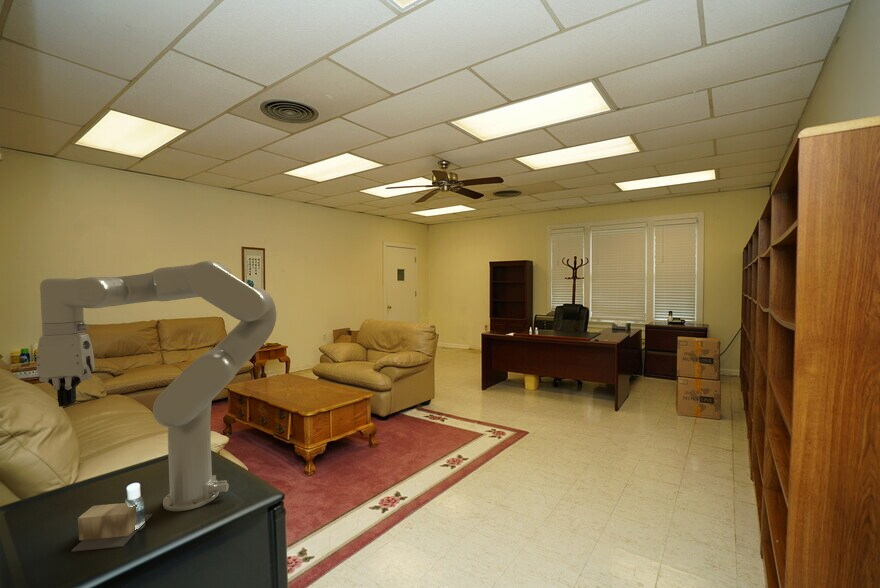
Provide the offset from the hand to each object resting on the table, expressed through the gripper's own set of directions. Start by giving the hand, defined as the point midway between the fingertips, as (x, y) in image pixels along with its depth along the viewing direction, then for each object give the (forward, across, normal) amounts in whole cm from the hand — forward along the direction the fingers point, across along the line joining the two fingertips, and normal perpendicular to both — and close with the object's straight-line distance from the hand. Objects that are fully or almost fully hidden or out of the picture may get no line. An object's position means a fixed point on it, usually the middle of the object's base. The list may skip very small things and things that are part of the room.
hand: (67, 404), depth 101 cm
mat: (+27, -15, +10) cm, 33 cm away
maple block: (+24, -9, +10) cm, 28 cm away
